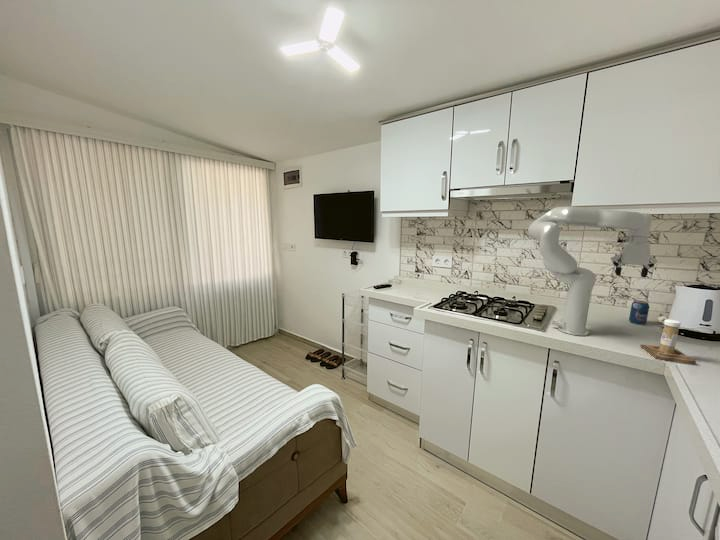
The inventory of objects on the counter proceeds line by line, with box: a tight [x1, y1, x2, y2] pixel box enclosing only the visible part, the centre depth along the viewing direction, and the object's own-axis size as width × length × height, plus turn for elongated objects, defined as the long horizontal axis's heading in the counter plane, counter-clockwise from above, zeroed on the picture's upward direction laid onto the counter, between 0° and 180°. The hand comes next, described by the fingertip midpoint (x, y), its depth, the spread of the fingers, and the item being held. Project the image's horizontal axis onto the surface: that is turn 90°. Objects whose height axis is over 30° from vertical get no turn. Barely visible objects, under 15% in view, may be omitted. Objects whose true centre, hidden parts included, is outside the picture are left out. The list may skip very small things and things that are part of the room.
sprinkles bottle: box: [659, 318, 681, 354], centre depth 122 cm, size 5×5×13 cm
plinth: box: [639, 344, 697, 366], centre depth 123 cm, size 12×12×2 cm
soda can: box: [628, 300, 650, 326], centre depth 162 cm, size 7×7×12 cm
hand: (630, 276), depth 143 cm, fingers open, 9 cm apart
